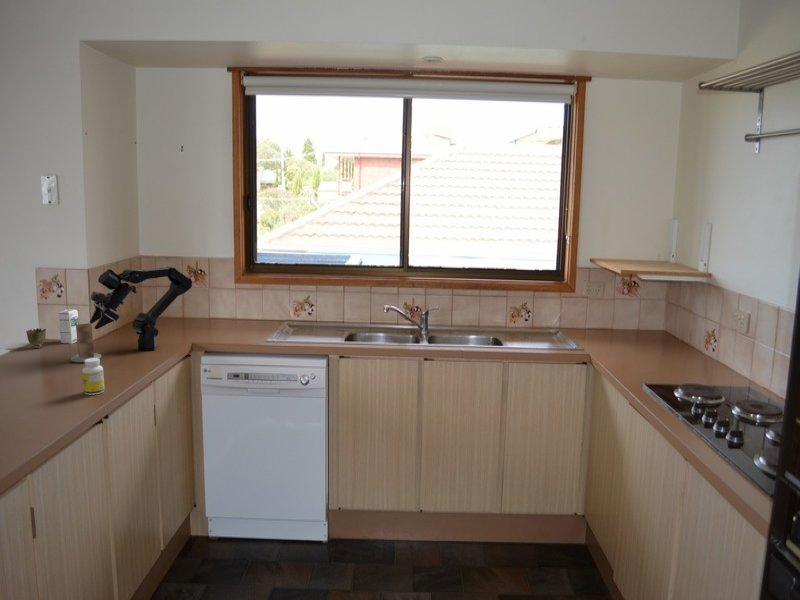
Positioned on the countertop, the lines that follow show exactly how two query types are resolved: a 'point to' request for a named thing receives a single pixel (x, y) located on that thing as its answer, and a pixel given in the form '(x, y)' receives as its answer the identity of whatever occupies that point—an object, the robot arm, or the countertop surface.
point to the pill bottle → (93, 377)
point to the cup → (36, 337)
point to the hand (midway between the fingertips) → (92, 325)
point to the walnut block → (85, 340)
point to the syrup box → (68, 325)
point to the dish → (77, 358)
